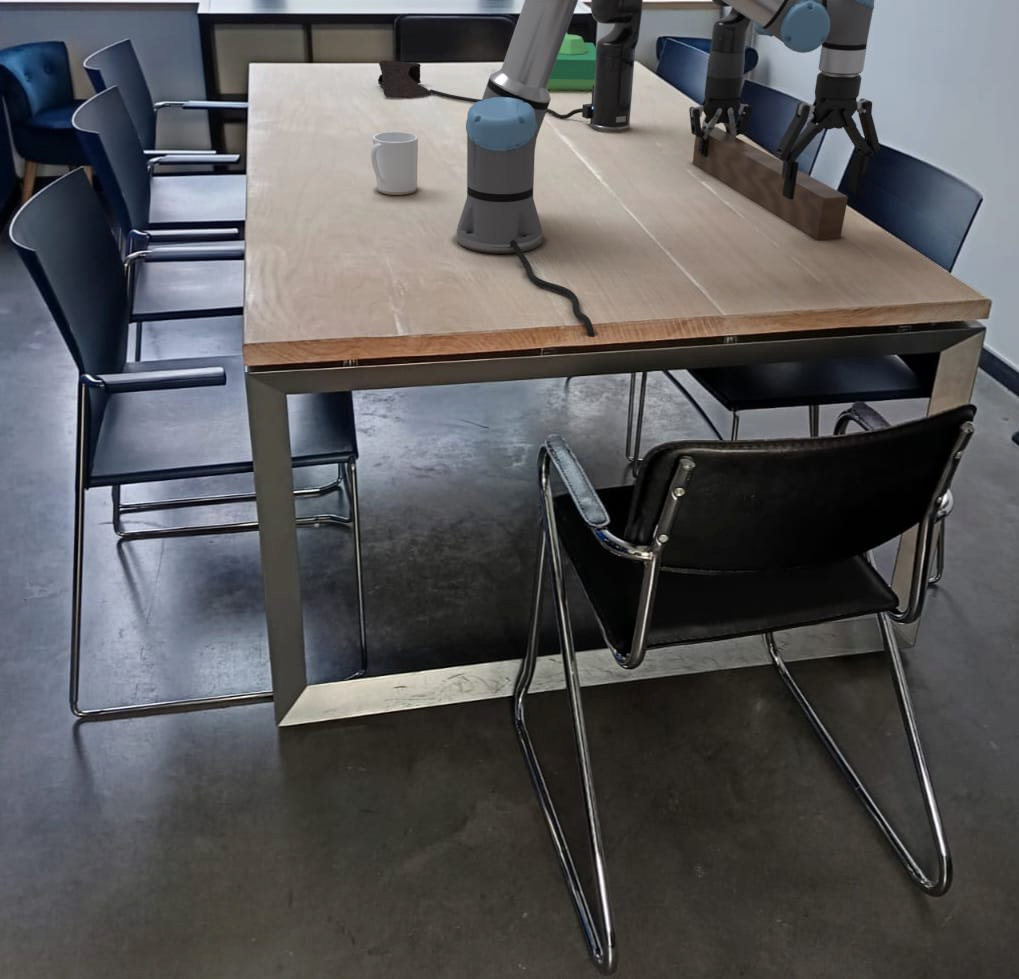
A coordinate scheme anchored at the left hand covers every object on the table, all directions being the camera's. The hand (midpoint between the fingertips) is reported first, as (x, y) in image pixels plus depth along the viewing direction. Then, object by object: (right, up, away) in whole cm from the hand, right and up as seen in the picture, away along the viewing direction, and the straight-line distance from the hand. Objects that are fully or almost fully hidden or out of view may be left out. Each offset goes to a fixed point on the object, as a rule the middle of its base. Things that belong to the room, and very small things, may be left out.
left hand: (820, 194), depth 201 cm
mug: (-81, +6, +19) cm, 83 cm away
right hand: (-13, +18, +36) cm, 42 cm away
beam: (-7, +5, +21) cm, 22 cm away
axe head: (-86, +55, +99) cm, 143 cm away
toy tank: (-41, +65, +117) cm, 140 cm away
